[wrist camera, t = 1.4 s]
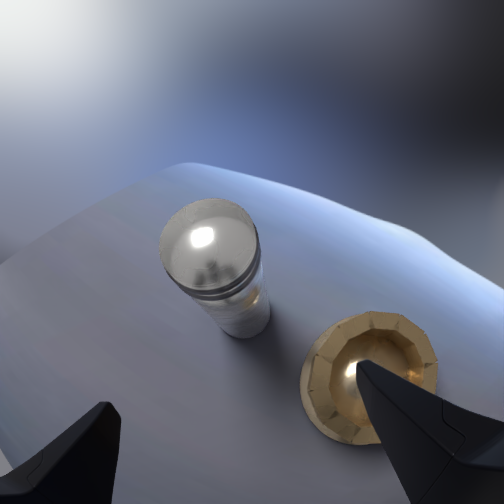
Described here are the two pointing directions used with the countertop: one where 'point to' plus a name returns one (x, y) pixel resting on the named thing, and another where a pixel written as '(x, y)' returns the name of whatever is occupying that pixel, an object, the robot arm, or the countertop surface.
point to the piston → (218, 264)
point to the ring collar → (344, 370)
